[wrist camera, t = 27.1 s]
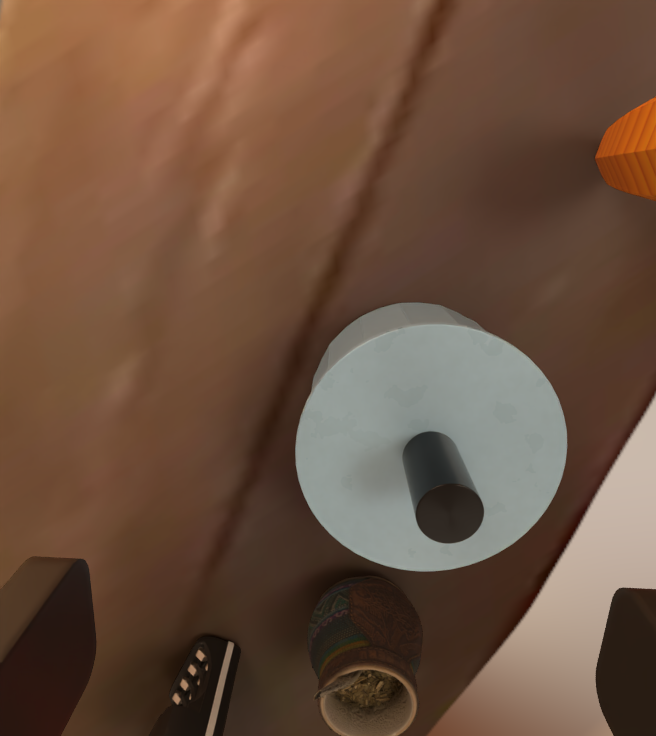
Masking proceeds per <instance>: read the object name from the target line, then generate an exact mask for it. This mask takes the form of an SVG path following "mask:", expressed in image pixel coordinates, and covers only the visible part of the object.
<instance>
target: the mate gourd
mask: <svg viewBox="0 0 656 736" xmlns="http://www.w3.org/2000/svg"><path fill="white" fill-rule="evenodd" d="M422 632H423V631H422V625H421V623H420V619H419V616H418V614H417V612H416V611H415V608H414V607H413V605H412V604H411V602H410V601H409V600H408V599H407V597H406V595H405V594H404V593H403V591H402V590H401V589H400V588H399V587H397V586H396V585H395V584H393V583H392V582H390V581H388V580H386V579H383V578H380V577H376V576H362V577H352V578H348V579H345V580H342V581H340V582H338V583H336V584H334V585H333V586H331V587H330V588H329V589H327V590H326V591H325V592H324V593H323V595H322V596H321V598H320V599H319V601H318V603H317V606H316V607H315V609H314V612H313V614H312V617H311V619H310V623H309V627H308V637H307V639H308V640H307V641H308V651H309V655H310V660H311V663H312V668H313V669H314V671H315V673H316V675H317V677H318V679H319V686H318V689H319V690H318V692H317V693H316V694H315V696H314V700H316V699H318V708H319V712H320V715H321V717H322V719H323V720H324V722H325V724H326V725H327V726H328V727H329V729H330V730H334V731H335V732H336V733H337V734H339V735H340V736H399V735H401V734H402V733H404V732H405V731H406V730H407V729H408V728H409V727H410V726H411V725H412V723H413V722H414V720H415V718H416V716H417V713H418V710H419V696H418V692H417V684H416V679H415V674H416V672H417V669H418V666H419V663H420V659H421V649H422V639H423V633H422Z"/></svg>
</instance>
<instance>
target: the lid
mask: <svg viewBox="0 0 656 736" xmlns="http://www.w3.org/2000/svg"><path fill="white" fill-rule="evenodd" d="M566 453H567V430H566V424H565V419H564V414H563V411H562V408H561V405H560V402H559V399H558V397H557V395H556V393H555V391H554V389H553V387H552V385H551V384H550V382H549V381H548V379H547V378H546V377H545V375H544V374H543V372H542V371H541V370H540V369H539V368H538V367H537V366H536V365H535V364H534V363H533V362H532V361H531V359H530V358H529V357H527V356H526V355H525V354H524V353H522V352H521V351H520V350H519V349H517V348H516V347H515V346H513V345H512V344H510V343H509V342H507V341H505V340H503V339H501V338H500V337H498V336H496V335H494V334H491V333H489V332H486V331H484V330H481V329H478V328H474V327H470V326H466V325H462V324H454V323H446V322H424V323H417V324H410V325H404V326H400V327H397V328H393V329H389V330H386V331H384V332H381V333H379V334H377V335H374V336H372V337H370V338H368V339H366V340H364V341H363V342H361V343H359V344H357V345H356V346H354V347H353V348H351V349H350V350H349V351H347V352H346V353H345V354H343V355H342V356H341V357H339V358H338V359H337V360H336V361H335V362H334V363H333V364H332V365H331V366H330V367H329V368H328V369H327V370H326V372H325V373H324V374H323V376H322V377H321V378H320V379H319V381H318V382H317V383H316V385H315V387H314V388H313V390H312V392H311V394H310V395H309V397H308V399H307V402H306V404H305V406H304V409H303V411H302V414H301V418H300V422H299V426H298V430H297V437H296V447H295V456H296V469H297V474H298V479H299V483H300V486H301V489H302V492H303V495H304V497H305V499H306V501H307V503H308V505H309V507H310V509H311V511H312V512H313V514H314V515H315V516H316V518H317V519H318V521H319V522H320V523H321V525H322V526H323V527H324V528H325V529H326V530H327V531H328V532H329V533H330V534H331V535H332V536H333V537H334V538H335V539H336V540H338V541H339V542H340V543H341V544H342V545H344V546H345V547H347V548H348V549H350V550H351V551H353V552H354V553H356V554H358V555H360V556H362V557H364V558H366V559H368V560H370V561H373V562H376V563H379V564H382V565H384V566H388V567H393V568H397V569H402V570H411V571H441V570H450V569H455V568H459V567H463V566H468V565H471V564H473V563H476V562H479V561H482V560H484V559H487V558H489V557H491V556H493V555H495V554H497V553H499V552H500V551H502V550H504V549H505V548H507V547H508V546H510V545H512V544H513V543H514V542H515V541H517V540H518V539H519V538H520V537H522V536H523V535H524V534H525V533H526V532H527V531H528V530H529V529H530V528H531V527H532V526H533V525H534V524H535V523H536V522H537V521H538V520H539V518H540V517H541V516H542V514H543V513H544V512H545V510H546V509H547V508H548V506H549V504H550V502H551V501H552V499H553V497H554V495H555V493H556V491H557V488H558V486H559V484H560V481H561V478H562V475H563V471H564V467H565V462H566Z"/></svg>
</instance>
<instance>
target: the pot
mask: <svg viewBox="0 0 656 736" xmlns="http://www.w3.org/2000/svg"><path fill="white" fill-rule="evenodd" d="M424 322H446V323H454V324H462V325H466V326H470V327H474V328H478V329H481V330H484V329H483V328H482V327H481V326H480V325H479V324H477V323H476V322H475V321H473V320H471V319H469V318H466V317H465V316H463V315H461V314H459V313H458V312H455V311H453V310H450V309H448V308H446V307H444V306H441V305H434V304H427V303H397V304H393V305H389V306H385V307H382V308H379V309H376V310H374V311H371V312H369V313H367V314H365V315H363V316H361V317H359V318H358V319H356V320H355V321H354V322H352V323H351V324H350V325H348V326H347V327H346V328H345V329H344V330H343V331H342V332H341V333H340V334H339V335H338V336H337V337H336V338H335V339H334V340H333V341H332V342H331V344H329V346H328V348H327V350H326V352H325V354H324V356H323V357H322V359H321V362H320V364H319V367H318V369H317V371H316V373H315V375H314V378H313V384H312V390H313V388H314V387H315V385H316V383H317V382H318V381H319V379H320V378H321V377H322V376H323V374H324V373H325V372H326V370H327V369H328V368H329V367H330V366H331V365H332V364H333V363H334V362H335V361H336V360H337V359H338V358H339V357H341V356H342V355H343V354H345V353H346V352H347V351H349V350H350V349H351V348H353V347H354V346H356V345H357V344H359V343H361V342H363V341H364V340H366V339H368V338H370V337H372V336H374V335H377V334H379V333H381V332H384V331H386V330H389V329H393V328H397V327H400V326H404V325H410V324H417V323H424ZM484 331H485V330H484ZM312 390H311V392H312Z"/></svg>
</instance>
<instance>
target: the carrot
mask: <svg viewBox="0 0 656 736" xmlns="http://www.w3.org/2000/svg"><path fill="white" fill-rule="evenodd" d="M595 161H596V163H597V166H598V168H599V170H600V173H601V175H602V177H603V179H604V180H605V182H606V183H607V184H608V185H610V186H612V187H614V188H616V189H618V190H621V191H624V192H627V193H629V194H633V195H636V196H640V197H643V198H647V199H650V200H654V201H656V97H654V98H653V99H651V100H649V101H647V102H646V103H644V104H642V105H640V106H639V107H637V108H635V109H633V110H632V111H630V112H629V113H627V114H626V115H624V116H623V117H621V118H620V119H618V120H617V121H616V122H615V123H614V124H612V125H611V126H610V127H609V128H608V129H607V131H606V132H605V134H604V136H603V138H602V141H601V143H600V146H599V148H598V151H597V154H596V156H595Z"/></svg>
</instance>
